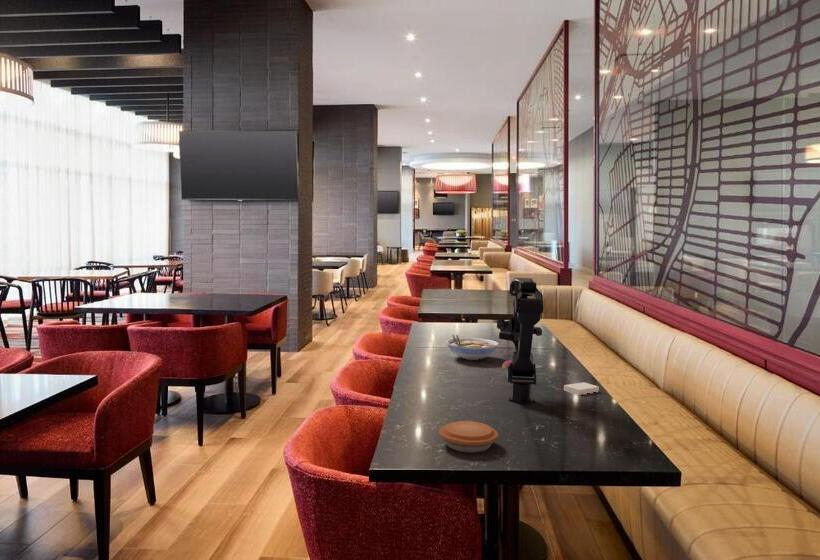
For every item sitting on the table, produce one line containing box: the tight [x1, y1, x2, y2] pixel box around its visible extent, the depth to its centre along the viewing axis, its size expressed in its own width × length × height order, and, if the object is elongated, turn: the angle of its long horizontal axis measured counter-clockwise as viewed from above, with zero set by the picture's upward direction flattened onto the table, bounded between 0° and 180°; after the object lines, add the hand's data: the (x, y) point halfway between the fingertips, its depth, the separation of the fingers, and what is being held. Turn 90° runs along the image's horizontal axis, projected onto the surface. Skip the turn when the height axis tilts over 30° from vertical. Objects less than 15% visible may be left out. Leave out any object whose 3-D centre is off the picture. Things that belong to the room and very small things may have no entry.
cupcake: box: [501, 359, 514, 379], centre depth 235 cm, size 9×8×12 cm
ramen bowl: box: [445, 334, 499, 361], centre depth 268 cm, size 25×23×8 cm
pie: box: [438, 420, 499, 454], centre depth 161 cm, size 16×16×5 cm
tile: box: [563, 382, 600, 396], centre depth 218 cm, size 2×7×10 cm
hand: (519, 357), depth 216 cm, fingers closed
